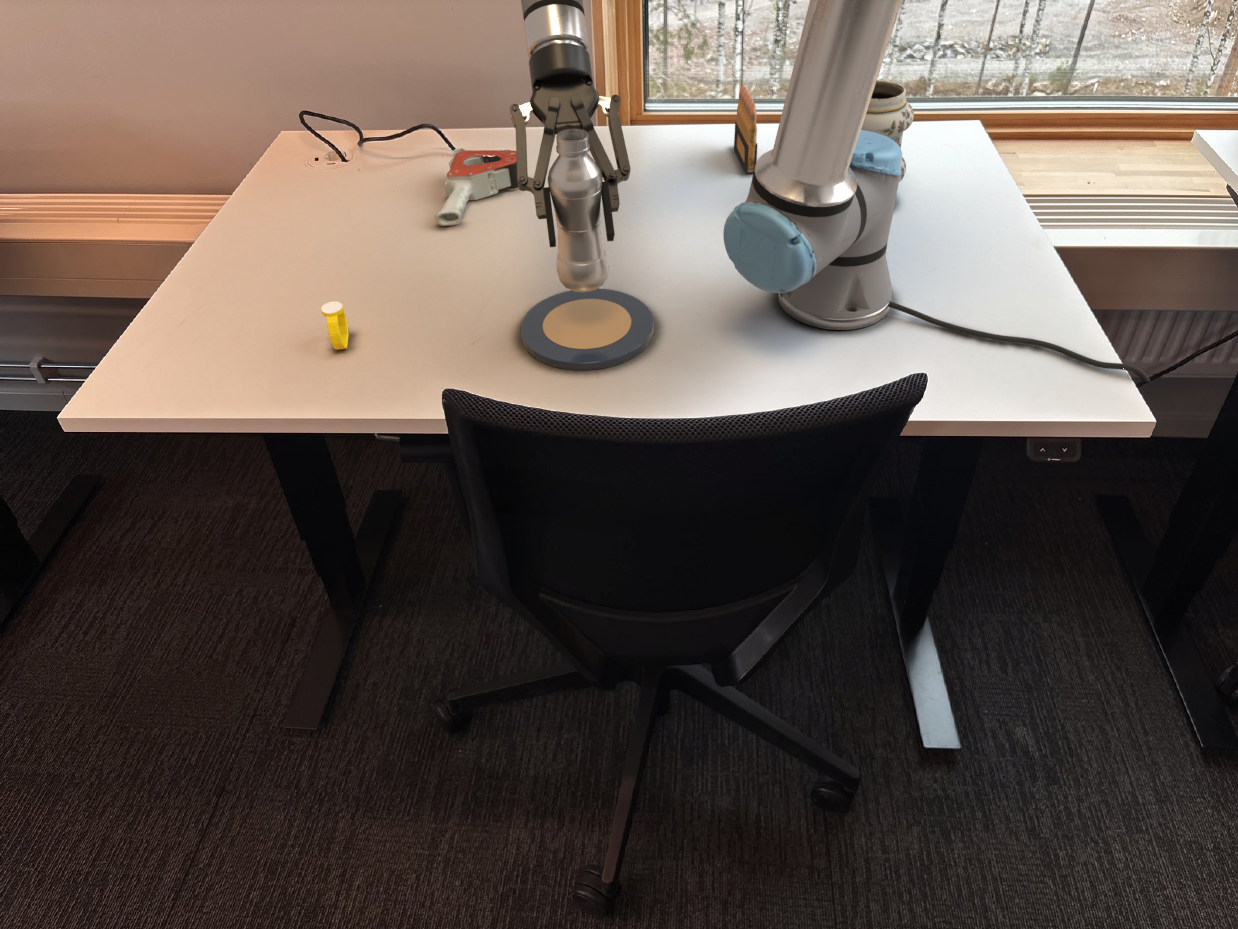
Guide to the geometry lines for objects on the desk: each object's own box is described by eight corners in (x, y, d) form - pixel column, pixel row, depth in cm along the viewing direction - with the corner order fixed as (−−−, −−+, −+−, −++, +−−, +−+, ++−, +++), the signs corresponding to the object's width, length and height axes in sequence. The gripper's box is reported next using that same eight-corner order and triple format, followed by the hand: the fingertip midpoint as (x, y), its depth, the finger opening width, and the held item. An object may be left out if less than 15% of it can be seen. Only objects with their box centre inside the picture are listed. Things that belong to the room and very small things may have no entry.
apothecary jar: (823, 183, 151) (836, 73, 139) (897, 185, 149) (916, 74, 137) (824, 217, 142) (838, 103, 130) (902, 220, 141) (923, 104, 128)
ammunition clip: (733, 149, 163) (736, 81, 155) (743, 148, 163) (747, 80, 155) (745, 174, 155) (749, 104, 147) (756, 173, 155) (760, 103, 147)
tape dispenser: (445, 240, 145) (549, 197, 152) (438, 211, 141) (545, 168, 148) (399, 197, 155) (499, 158, 162) (391, 168, 152) (494, 130, 158)
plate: (679, 320, 123) (679, 312, 122) (598, 387, 112) (597, 379, 112) (578, 282, 131) (577, 274, 130) (494, 341, 121) (492, 333, 120)
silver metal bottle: (603, 300, 114) (594, 147, 101) (552, 296, 115) (536, 144, 102) (613, 274, 119) (606, 124, 105) (564, 270, 120) (551, 122, 106)
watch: (335, 332, 124) (323, 295, 120) (355, 330, 124) (344, 293, 120) (330, 357, 120) (318, 319, 116) (351, 355, 120) (339, 317, 116)
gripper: (634, 63, 114) (657, 241, 113) (482, 77, 113) (504, 257, 112) (639, 32, 106) (664, 222, 106) (476, 46, 105) (500, 239, 104)
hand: (581, 240), depth 109 cm, fingers closed on silver metal bottle, 6 cm apart
